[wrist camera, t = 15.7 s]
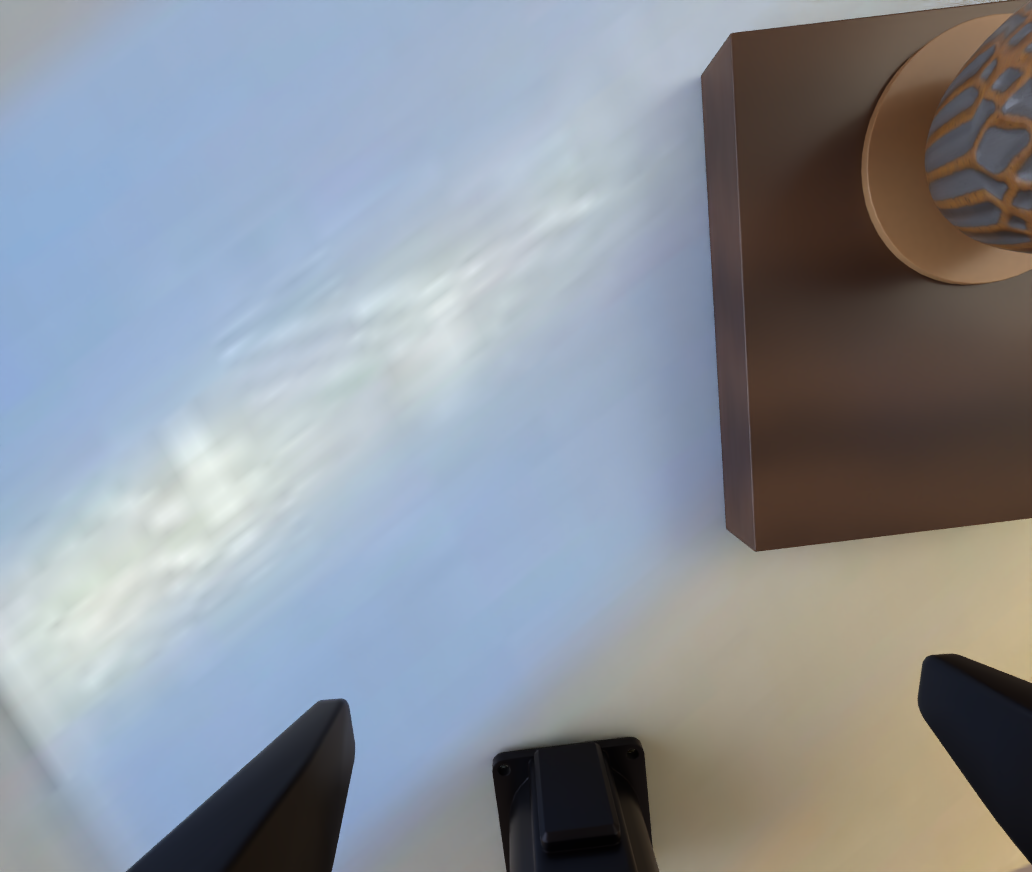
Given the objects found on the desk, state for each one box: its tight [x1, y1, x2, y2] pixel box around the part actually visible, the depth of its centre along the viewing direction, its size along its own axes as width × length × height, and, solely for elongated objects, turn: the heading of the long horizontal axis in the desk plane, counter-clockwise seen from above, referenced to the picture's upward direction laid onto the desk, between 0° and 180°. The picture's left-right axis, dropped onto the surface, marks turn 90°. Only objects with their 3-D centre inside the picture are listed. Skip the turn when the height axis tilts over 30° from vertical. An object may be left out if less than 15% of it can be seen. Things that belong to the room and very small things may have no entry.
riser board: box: [701, 0, 1032, 552], centre depth 18 cm, size 17×12×3 cm
